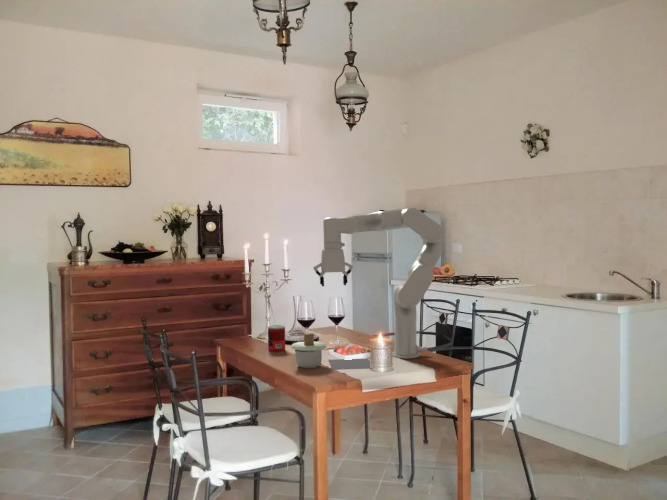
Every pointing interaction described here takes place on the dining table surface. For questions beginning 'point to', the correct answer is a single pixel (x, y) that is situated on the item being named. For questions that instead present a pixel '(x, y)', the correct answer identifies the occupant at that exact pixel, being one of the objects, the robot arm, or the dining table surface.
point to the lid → (308, 344)
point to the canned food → (276, 338)
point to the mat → (349, 364)
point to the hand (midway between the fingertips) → (333, 285)
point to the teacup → (308, 358)
